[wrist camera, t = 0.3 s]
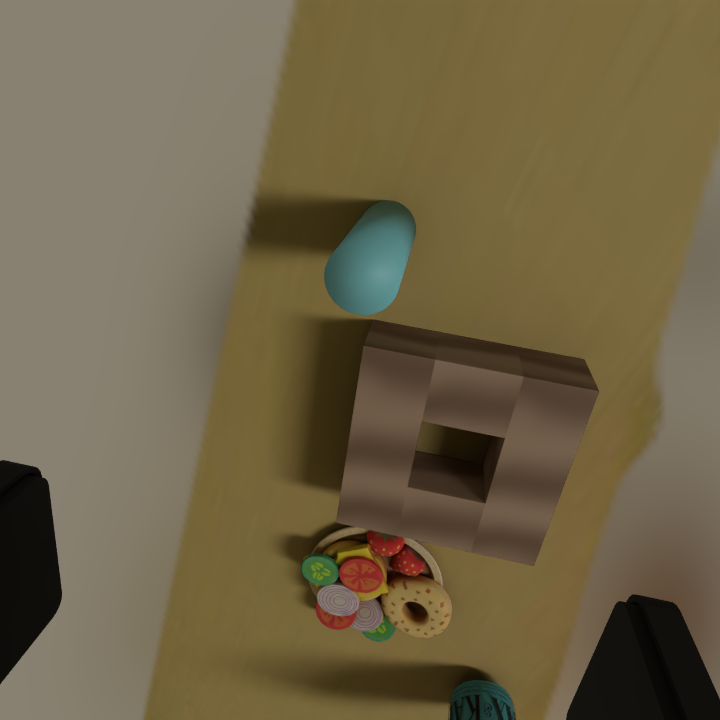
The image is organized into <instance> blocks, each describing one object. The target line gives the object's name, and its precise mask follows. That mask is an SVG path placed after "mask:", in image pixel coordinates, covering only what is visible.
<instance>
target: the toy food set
mask: <svg viewBox="0 0 720 720" xmlns="http://www.w3.org/2000/svg"><path fill="white" fill-rule="evenodd" d="M301 571H302V574H303V575H304V577H305V578H306V579H307V580H308V581H309V583H310V586H311V589H312V591H313V593H314V594H315V596H316V597H317V604H316V614H317V617H318V619H319V620H320V621H321V623H322V624H324V625H325V626H327V627H329V628H331V629H337V630H339V629H344V628H347V627H349V626H351V627H353V628H354V629H356V630H359V631H362V632H363V634H364V635H365V636H366V637H368V638H369V639H371V640H374V641H385V640H387V639H389V638H390V637H391V636H392V635H393V634H394V631H395V629H398V630H400V631H401V632H403V633H405V634H408V635H410V636H413V637H418V638H428V637H433V636H435V635H438V634H440V633H441V632H442V631H444V629H445V628H446V627H447V625H448V623H449V621H450V618H451V614H452V604H451V600H450V598H449V596H448V594H447V592H446V591H445V590H444V589H443V588H442V576H441V572H440V570H439V567H438V565H437V563H436V561H435V560H434V558H433V557H432V556H431V554H430V553H429V552H428V551H427V550H426V549H425V548H424V547H423V546H422V545H421V544H420V543H418V542H417V541H416V540H413V539H408V538H404V537H399V536H394V535H390V534H385V533H381V532H376V531H372V530H367V529H363V528H358V527H353V526H351V527H346V528H343V529H340V530H337V531H335V532H333V533H331V534H329V535H328V536H326V537H325V538H324V539H323V540H321V541H320V542H319V543H318V544H317V546H316V547H315V548H314V550H313V552H312V553H311V555H307V556H304V558H303V563H302V567H301Z"/></svg>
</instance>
